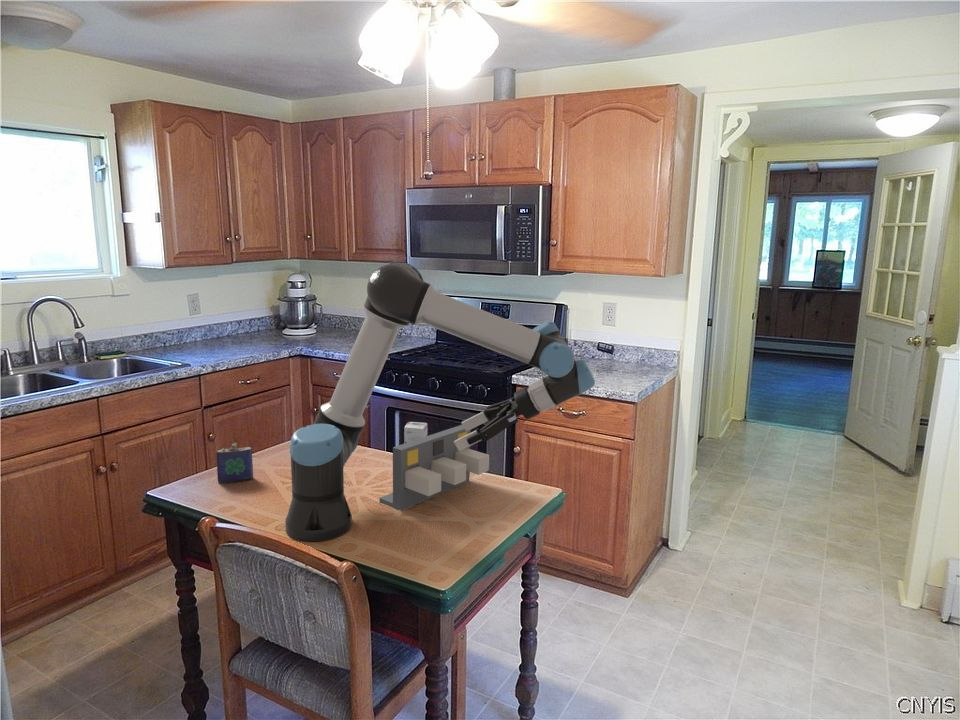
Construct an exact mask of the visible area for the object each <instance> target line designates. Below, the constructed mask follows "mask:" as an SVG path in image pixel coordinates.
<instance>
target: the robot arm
mask: <svg viewBox="0 0 960 720" xmlns="http://www.w3.org/2000/svg"><path fill="white" fill-rule="evenodd" d="M366 293H367V297H366V299H365V302H364V305H363V306H362V307H363V309H364V312H365V314H366V316H365V318H364V320H363V324H362V325H361V328H360V330H359V333H358V335H357V337H356V339H355V341H354V344H353V346H352V349H351V351H350V353H349V356H348V358H347V360H346V363H345V365H344V367H343V370H342V373H341V374H340V376H339V379H338V381H337V384H336V386H335V389H334V392H333V393H332V396H331V398H330V401H328V402H325V403H323V404H322V405H321V406H320V408H319V410H318V413H317V415H316V417H315V420H314V422H313V424H309V425H306V426H305V427H304V426H303V427H299V429H297V430H295V432H293V434H292V436H291V437H290V445H289V453H290V455H289V456H290V474H291V491H292V492H291V493H292V495H291V496H292V497H291V501H290V504H289V507H288V511H287V515H286V517H285V521H284V522H285V525H284V526H285V533H286V534H287V535H288V536H289V537H290V538H292V539H295V540H299V541H303V542H322V541H328V540H332V539H335V538H339V537H340V536H343V535H344V534H346V533H348V532H349V531H350V529H351V528H352V526H353V515H352V511H351V510H350V507H349V503H348V501H347V498H346V496H345V491H344V490H345V487H344V486H345V485H344V484H345V483H344V482H345V481H344V477H345V476H344V467H345V465H346V463H347V462H348V460H349V459H350V457H351V455H352V454H353V453H354V452H355V450H356V448H358V444H359V442H360V441H359V439H360V436H361V435H362V434H361V433H362V431H363V429H364V427H365V425H366V420H365V418H364V416H363V415H364V414H363V413H364V411H365V410H366V407H367V405H368V403H369V400H370V398H371V396H372V394H373V391H374V388H375V386H376V384H377V382H378V380H379V378H380V375H381V373H382V371H383V368H384V365H385V363H386V361H387V359H388V358H389V354H390V352H391V350H392V348H393V346H394V343H395V341H396V338H397V335H398V334H399V332H400V330H401V329H403V328H404V329H405V328H407V327H408V326H409V324H411V325H413V326H419V325H421V324H423V325H426V326H429V327H432V328H434V329H437V330H439V331H443V332H445V333H447V334H450V335H452V336H455V337H458V338H460V339H462V340H465V341H468V342H470V343H473V344H475V345H479V346H481V347H483V348H486V349H489V350H491V351H493V352H496V353H499V354H501V355H504V356H506V357H509V358H511V359H514V360H517V361H519V362H522V363H524V364H527V365H529V366H531V367H533V368H536V369H538V370H541V371H542V372H543V373H545V374H546V376H545V377H542V378H540V379H538V380H536V381H534V382H532V383H530V384H529V385H528V387H527V386H524V387H522V388H520V389H519V390H517V391H515V392H514V393H513V397H511V398H508V399H506V400H502V401H499V402H497V403H493V404H491V405H488V406H487V407H486V409H484V410H483V411H481V412H480V413H477V414H475V415H473V416H471V417H469V418H467V419H465V420H462V421H461V425H463V427H464V428H465V430H466V432H467V431H469V430H471V431H472V430H473V429H474V431H472V432H470V433H469V434H467V435H465V436H463V437H461V438H459V439H457V440H455V441H454V443H455V445H456V447H457V448H458V450H459V451H461V450H463V449H465V448H467V447H469V446H470V447H472V446H473V445H475V444H477V443H479V442H483V443H486V442H487V441H490V439H492V438H494V437H495V436H498V434H500V433H501V432H503V431H504V430H506V429H507V428H509V427H510V426H512V425H514V424H516V423H518V422H519V420H518V417H520V416H523V418H524V419H526V420H530V419H532V418H534V417H536V416H538V415H540V413H541V412H542V413H544V412H546V411H548V410H551V411H552V410H554V409H555V408H554V407H556V406H558V405H560V404H563V403H564V402H567V401H569V400H572V399H573V398H576V397H577V396H580V395H582V394H583V393H585V392H587V391H589V390H591V389H593V387H595V384H596V382H595V377H594V375H593V373H592V371H591V369H590V367H589V365H588V364H587V362H586V360H584V359H582V358H581V359H576V358H575V356H574V352H573V349H572V348H571V347H570V346H569V345H568V344H567V341H565V338H564V337H563V335H562V333H561V332H560V329H559V328H558V326H557V325H556V323H555V322H554V321H550V320H549V321H545V322H543V323H541V324H539V325H537V326H535V327H534V328H530V327H526V326H524V325H521V324H518V323H517V322H514V321H511V320H508V319H506V318H504V317H502V316H499V315H496V314H493V313H491V312H488V311H486V310H484V309H481V308H478V307H476V306H473V305H471V304H469V303H466V302H464V301H461V300H458V299H455V298H454V297H450V296H448V295H446V294H443V293H441V292H438V291H436V290H435V289H434V287H433V284H431V283H429V282H426V281H424V278H423V276H422V273H421V272H420V271H419V270H418V269H417V268H416V267H415V266H413V265H412V264H410V263H407V262H404V261H392V262H389V263H388V264H384V265H381V266H380V267H378V268H376V269H375V270H374V271H373V272H372V274H371V275H370V277H369V279H368V282H367V285H366ZM488 421H489V422H488ZM487 422H488V423H487ZM485 423H486V424H485ZM483 424H485V425H484V426H483V427H481V428H479V427H478V426H481V425H483ZM475 428H476V429H475Z"/></svg>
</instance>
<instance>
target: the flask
mask: <svg viewBox="0 0 960 720" xmlns="http://www.w3.org/2000/svg"><path fill="white" fill-rule="evenodd" d="M237 445H238V443H235V442H233V443H232V444H231V446H230V447H229V448H228V447H227V448H224V447H223V448H222V449H219V450H217V451H216V455H215V456H216V469H217V470H216V471H217V472H216V473H217V481H218V484H234V483H239V482H241V483H242V482H247V481H250V480H253V478H254V465H253V462H254V461H253V448H252V447H250V446H247V447H240V448H238V447H237Z"/></svg>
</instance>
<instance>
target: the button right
mask: <svg viewBox="0 0 960 720" xmlns="http://www.w3.org/2000/svg"><path fill="white" fill-rule="evenodd" d="M455 461H458V462H461V463H464V464H466V471H468V472H470V473H472V474H475V475H477V476H480V475H481V474H484V473H485V472H488V471H490V454H487V453H484V452H480V451H477V450H474V449H471V448H470V449H468V448H465V449H463V450H461V451H459V450H457V451H455Z"/></svg>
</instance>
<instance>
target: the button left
mask: <svg viewBox="0 0 960 720" xmlns="http://www.w3.org/2000/svg"><path fill="white" fill-rule="evenodd" d="M404 487H405V488H408V489H410V490H413V491H416V492H418V493H421V494H424V495H426V496H431V495H433V494H435V493H438V492H440V491H441V474H439V473H436V472H433V471H430V470H427V469H425V468H422V467H419V466H413V467H411V468H408V469H405V470H404Z"/></svg>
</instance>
